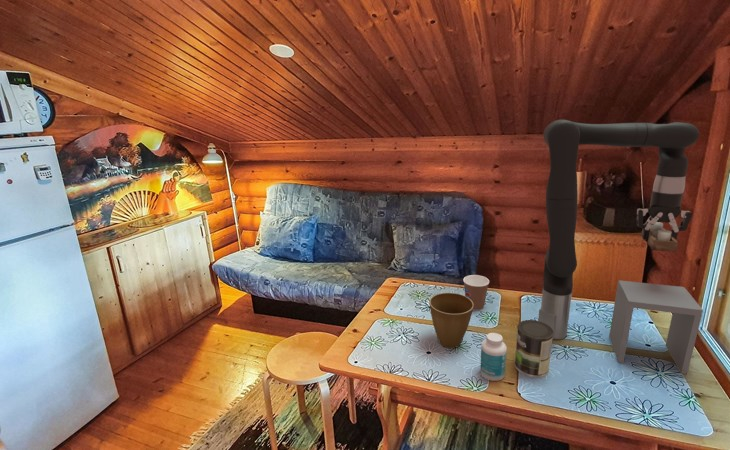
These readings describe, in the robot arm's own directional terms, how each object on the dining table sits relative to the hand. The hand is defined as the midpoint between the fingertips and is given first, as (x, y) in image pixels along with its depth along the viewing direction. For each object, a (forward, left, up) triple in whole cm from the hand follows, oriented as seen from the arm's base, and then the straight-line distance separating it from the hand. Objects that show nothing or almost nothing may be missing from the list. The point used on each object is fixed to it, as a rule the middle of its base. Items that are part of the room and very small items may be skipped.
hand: (658, 241), depth 122 cm
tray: (0, 0, -1) cm, 1 cm away
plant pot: (-55, +34, -37) cm, 74 cm away
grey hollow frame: (-6, -5, -37) cm, 37 cm away
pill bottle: (-55, +14, -37) cm, 68 cm away
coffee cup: (-30, +48, -37) cm, 67 cm away
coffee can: (-42, +10, -37) cm, 57 cm away
